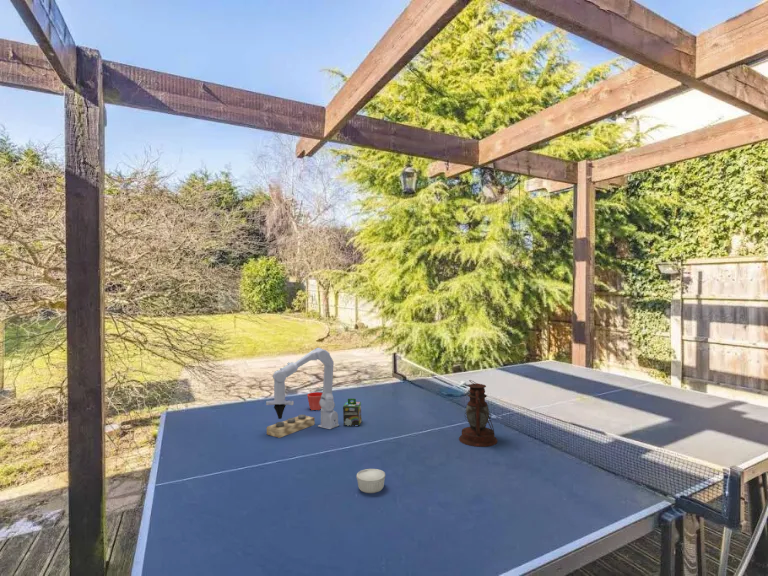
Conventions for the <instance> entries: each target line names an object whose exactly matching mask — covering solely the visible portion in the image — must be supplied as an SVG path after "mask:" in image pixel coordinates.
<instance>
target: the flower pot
mask: <svg viewBox="0 0 768 576" xmlns="http://www.w3.org/2000/svg"><path fill="white" fill-rule="evenodd" d="M322 393H323V392H319V391H316V392H315V391H314V392H309V393H308V394H307V401H308V407H309V409H311V410H310V411H312V410H318V411H321V410H320V409H321V406H320V403H319V402H320V399H321V395H322Z"/></svg>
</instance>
